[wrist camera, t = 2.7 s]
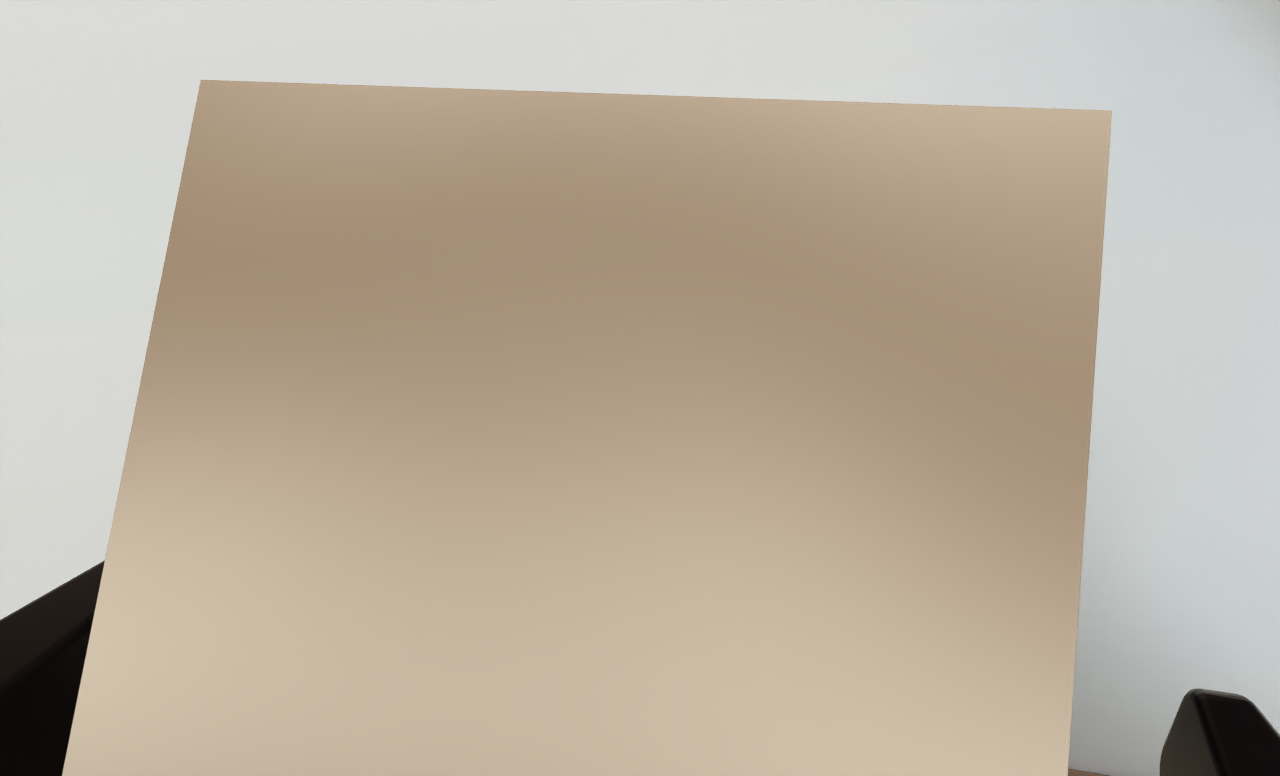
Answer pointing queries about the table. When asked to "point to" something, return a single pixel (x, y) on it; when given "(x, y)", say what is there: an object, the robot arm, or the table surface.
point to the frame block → (606, 440)
